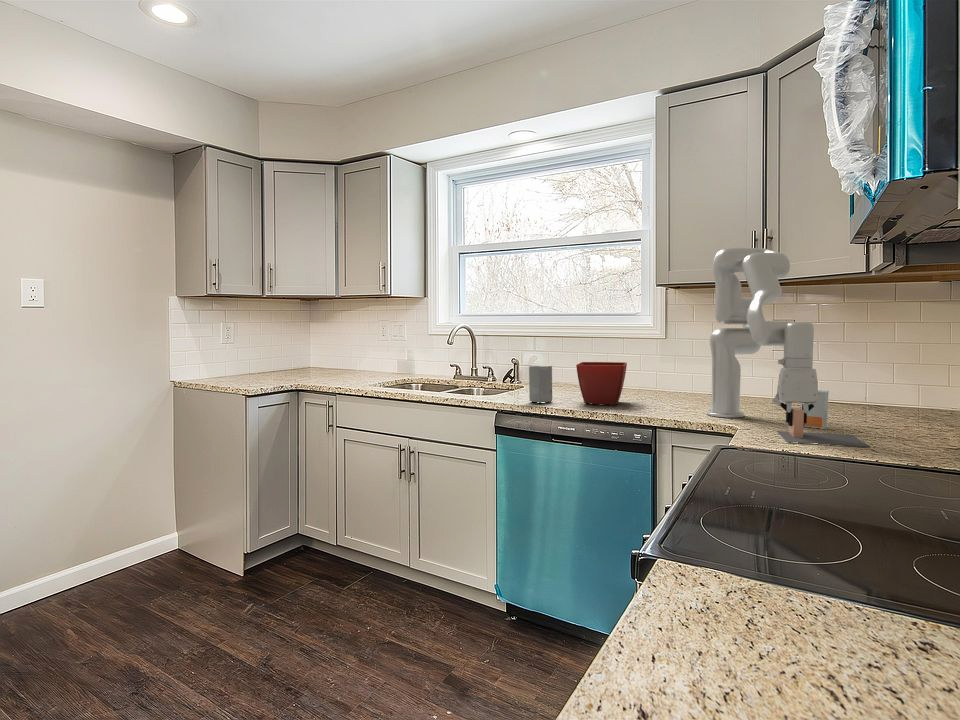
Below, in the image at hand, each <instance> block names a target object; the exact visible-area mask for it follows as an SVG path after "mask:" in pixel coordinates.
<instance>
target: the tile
mask: <svg viewBox="0 0 960 720" xmlns="http://www.w3.org/2000/svg"><path fill="white" fill-rule="evenodd" d="M791 410H792V413H793V419H792V426H789V425H788V429H787V430H788V431H787V432H788V433H790V434H791V435H792V436H793V437H801V438H803V432H804V427H803V425H804V410H803V409H802V407H800V406H791Z"/></svg>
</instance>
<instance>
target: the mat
mask: <svg viewBox="0 0 960 720" xmlns="http://www.w3.org/2000/svg"><path fill="white" fill-rule="evenodd" d="M777 432H778V433H779V434H780V435H781V436H782V437H783V438H784V439H785V440H786V441H787V442H798V443H818V444H830V445H829V446H831V445H844V446H843V447H849V446H859V447H858V448H866V447H871V445H870V444H867V443H866V442H864V441H863V440H861V439H859V438H858V437H856V436H854V435H853V434H841V433H827V432H826V433H824V432H823V433H822V432H804V431H803V438H801V437H793V436H792V435H791V434H790V433H788V431H787V430H786V431H783V430H777V431H776V433H777ZM778 433H777V434H778ZM779 434H778V435H779ZM780 435H779V436H780ZM781 436H780V437H781ZM782 437H781V438H782ZM783 438H782V439H783ZM784 439H783V440H784ZM785 440H784V441H785ZM786 441H785V442H786ZM787 442H786V443H787Z"/></svg>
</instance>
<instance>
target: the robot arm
mask: <svg viewBox="0 0 960 720" xmlns="http://www.w3.org/2000/svg"><path fill="white" fill-rule="evenodd" d="M790 270H791V263H790V260H789V258H788V256H787V255H785V254H784V253H783V252H779V251H775V250H772V249H768V248H765V247H763V248H762V247H727V248H723V249H720V250H718V252H717V253H716V254H715V256H714V258H713V262H712V273H713V279H714V283H715V284H714V285H715V296H714V298H715V299H714V302H715V303H714V311H715V312H714V315H715V316H714V317H715V320H716V321H717V323H718V324H721V325H742V327H723V328H719V329H718V328H717V329H715V330H714V331H713V332H712V333H711V334H710V337H709V346H710V352H711V395H710V396H711V400H710V401H711V406H710V409H708V410H706V415H708V416H711V417H717V418H726V419H727V418H729V419H731V418H734V419H735V418H737V419H738V418H742V417H745V413H744V412H743V411H741V410H740V407H741V405H740V403H741V402H740V401H741V364H740V362H739V361H738V360H739V359H737V357H736V355H753V354H757V353H758V352H759V351H760V349H761V346H763V347H764V346H768V347H771V346H772V347H774V346H775V347H776V346H779V347H780V346H781V347H783V357H782V358H781V359H778V361H777V365H782V366H783V367H781V368H780V370H779V375H778V381H777V390H776V394H775V396H774V398H773V399H772V403H773V404H775V405H777V406H779V407H781V408H782V409H783V410H784V411H785V423H787V425H788V427H789V426H792V419H793V413H792V410H791V407H793V406H792V404H794V403H797V404H799V403H800V404H801V409H803V410H804V423H807V413H808V412H809V411H810V410H811V409H812V408H813V407H816V406H819V405H821V401H820V399H819V397H818V390H819V385H818V383H819V382H818V374H817V369H816V368H813V367H814V366H813V364H814V363H813V362H814V361H813V360H814V337H815V336H814V332H815V331H814V330H815V328H814V324H813V323H812V322H809V321H792V320H790V321H787V320H786V321H784V320H783V321H782V320H781V321H780V320H774V321H773V320H772V321H771V320H770V321H769V320H768V321H767V320H766V318H765V316H764V314H763V306H765V305H768V304H770V303H772V302H775V301H776V300H778V298H780V297H781V296H782V293H783V290H782V287H781V284H780V281H779V279H783V278H785V277H786V276H787V275H788V274H789V272H790ZM736 273H744V276H745V279H746V282H747V285H748V288H749V290H750V293H751V295H752V296H751V297H742V283H741V281H740V279H739V277H738V276H737V275H736ZM808 403H810V404H808ZM803 428H805V427H804V425H803Z"/></svg>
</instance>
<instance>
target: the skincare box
mask: <svg viewBox="0 0 960 720" xmlns="http://www.w3.org/2000/svg"><path fill="white" fill-rule="evenodd" d="M829 393H830V392H829V390H820V389H818V397H819V399H820V401H821V405H819V406H816V407H813V408H812V409H811V410H810V411H809V412H808V413H807V423H804V427H803V428H809V427H811V429H816V428H820V429H819V430H825V429H827V428H826V427H828V413H829V412H828V410H829V409H828V408H829ZM808 404H810V403H808ZM824 428H825V429H824Z"/></svg>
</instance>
